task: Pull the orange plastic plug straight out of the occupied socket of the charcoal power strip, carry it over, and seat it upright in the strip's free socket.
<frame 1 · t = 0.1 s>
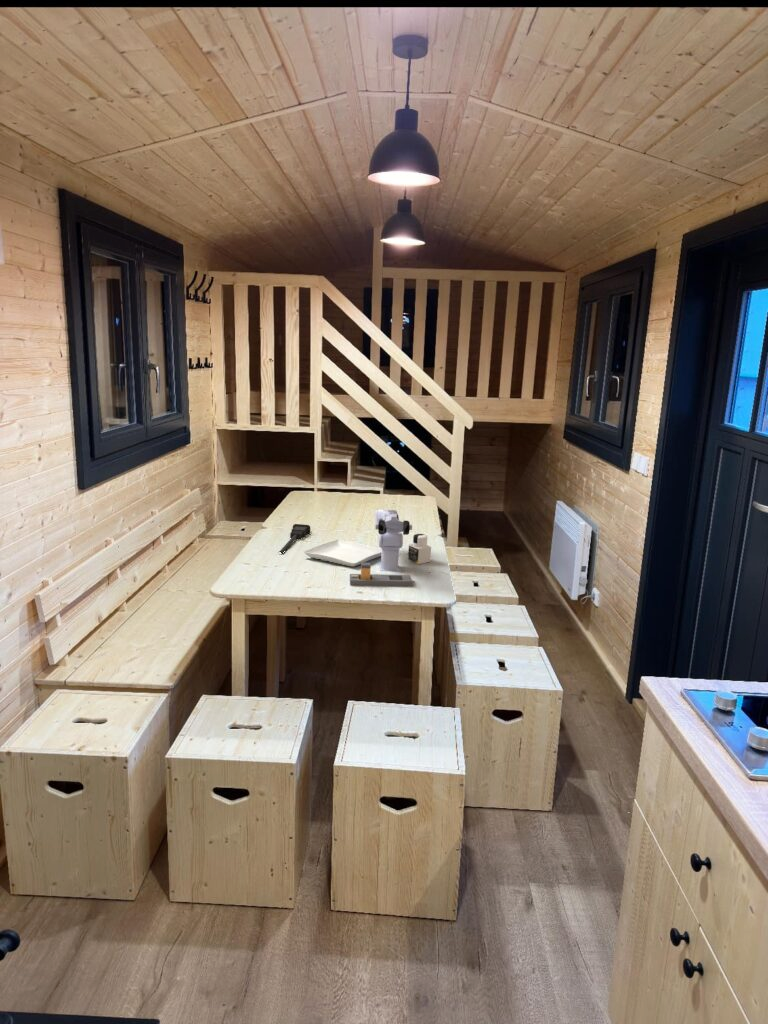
hand: (395, 530, 274), 22 cm above the table, tool horizontal, fingers open, 7 cm apart
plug: (365, 582, 278), resting on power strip
electrical plug: (293, 543, 332), on the table
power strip: (380, 583, 278), on the table
medicine bottle: (419, 561, 310), on the table
square plate: (345, 558, 311), on the table
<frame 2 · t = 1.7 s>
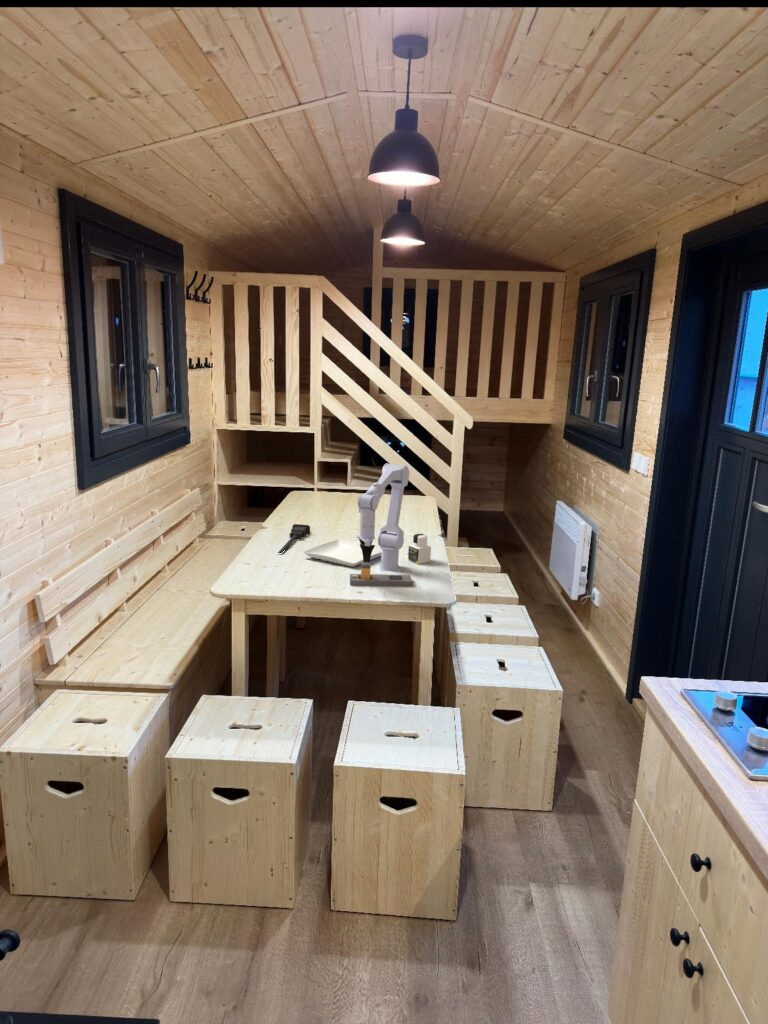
hand: (366, 559, 275), 10 cm above the table, tool pointing down, fingers open, 7 cm apart
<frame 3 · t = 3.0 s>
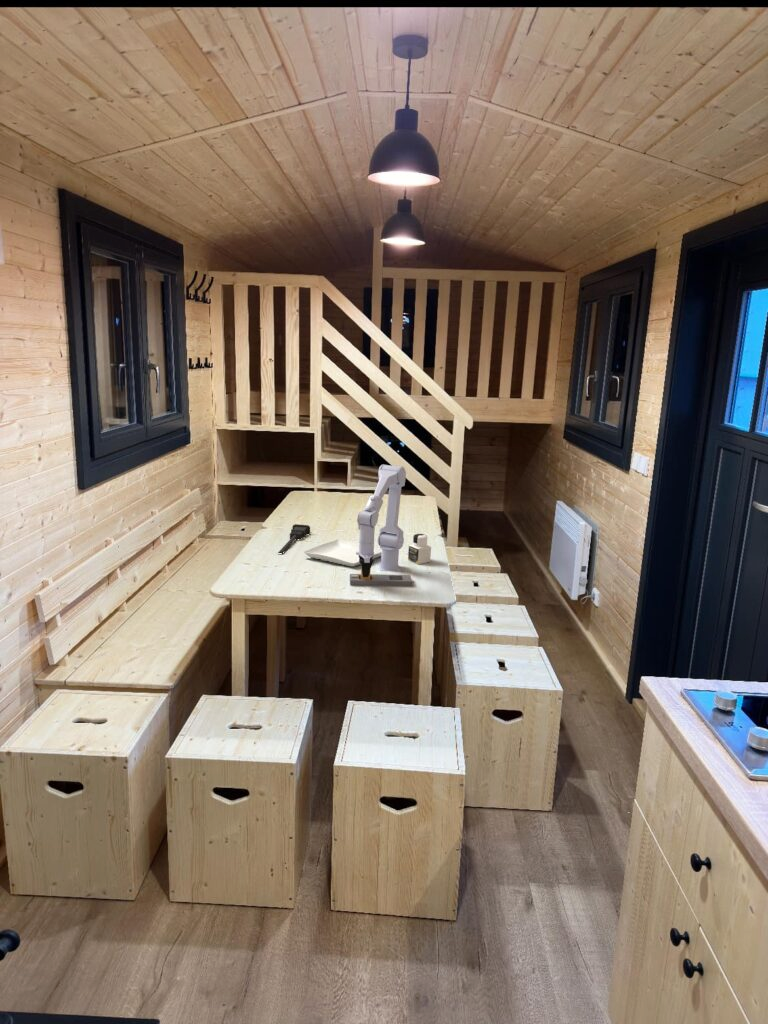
hand: (365, 575, 277), 3 cm above the table, tool pointing down, fingers closed on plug, 3 cm apart
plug: (365, 582, 278), resting on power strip, touching gripper
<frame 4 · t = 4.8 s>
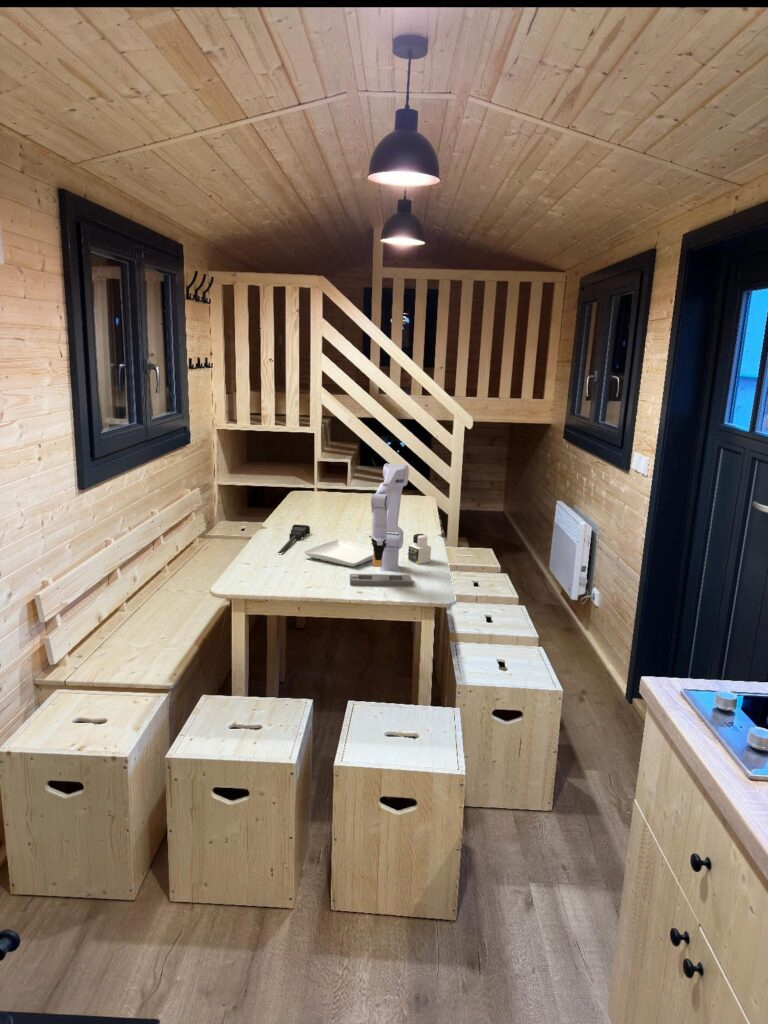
hand: (378, 558, 276), 10 cm above the table, tool pointing down, fingers closed on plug, 3 cm apart
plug: (377, 565, 276), point 7 cm above the table, touching gripper
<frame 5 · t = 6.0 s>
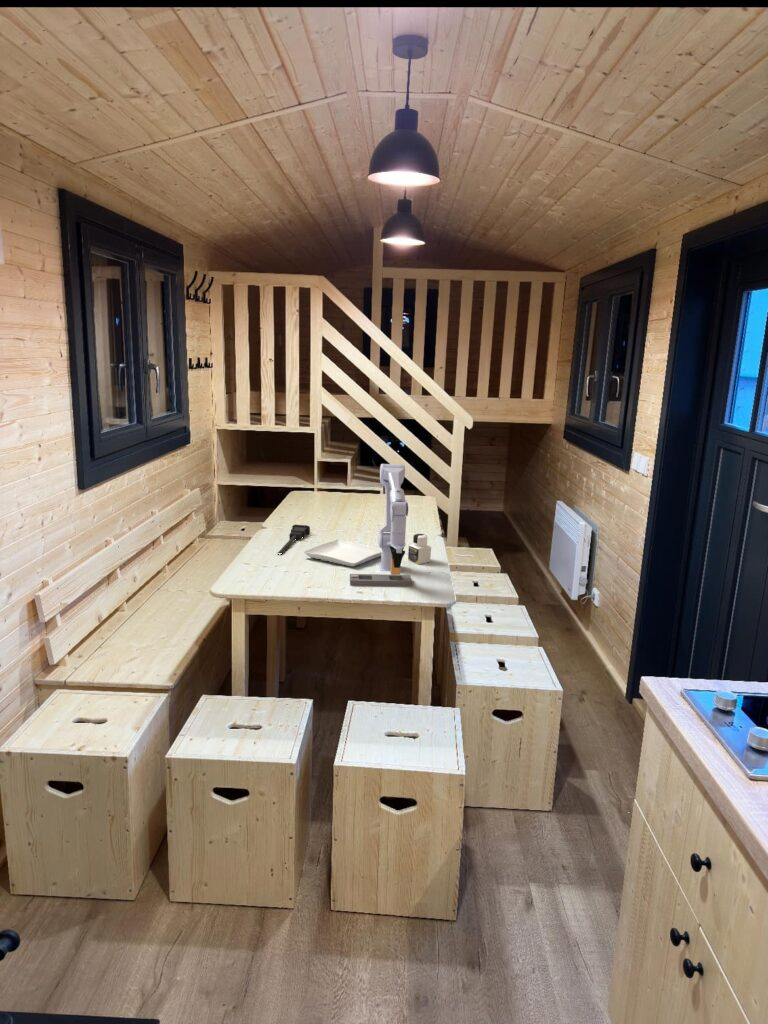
hand: (396, 565, 277), 7 cm above the table, tool pointing down, fingers closed on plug, 3 cm apart
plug: (395, 573, 278), point 4 cm above the table, touching gripper
when the fingers open (4 cm above the table, at t = 7.0 s): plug stays where it is, resting on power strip.
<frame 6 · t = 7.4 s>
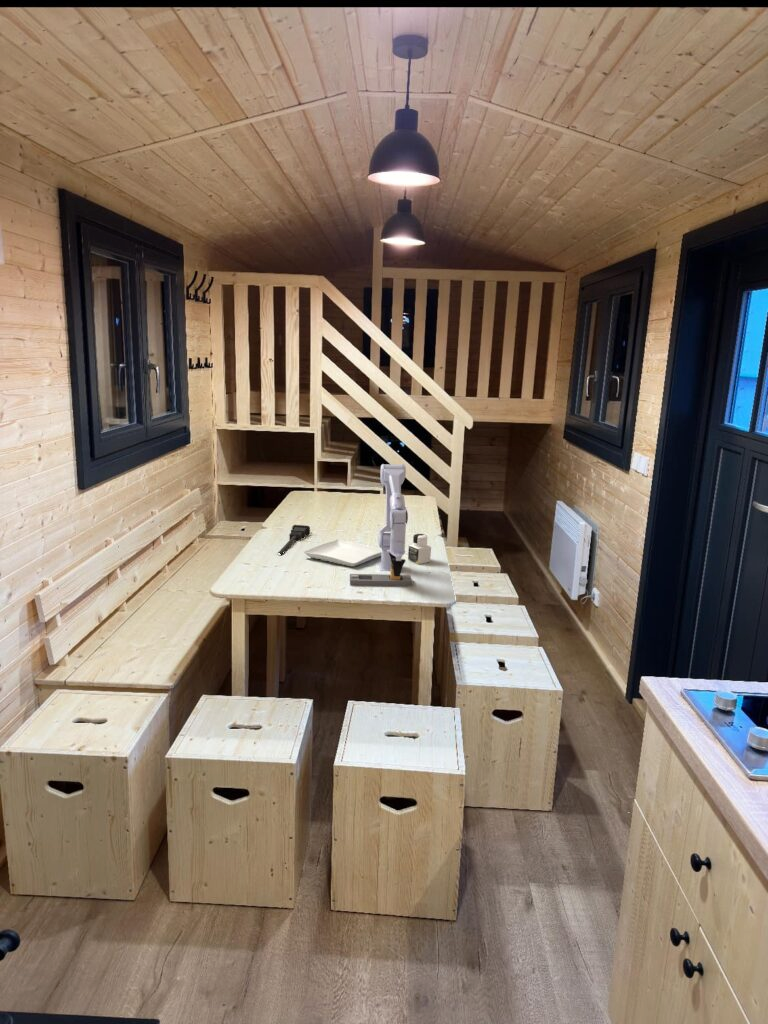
hand: (396, 573, 278), 4 cm above the table, tool pointing down, fingers open, 7 cm apart
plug: (394, 582, 279), resting on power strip
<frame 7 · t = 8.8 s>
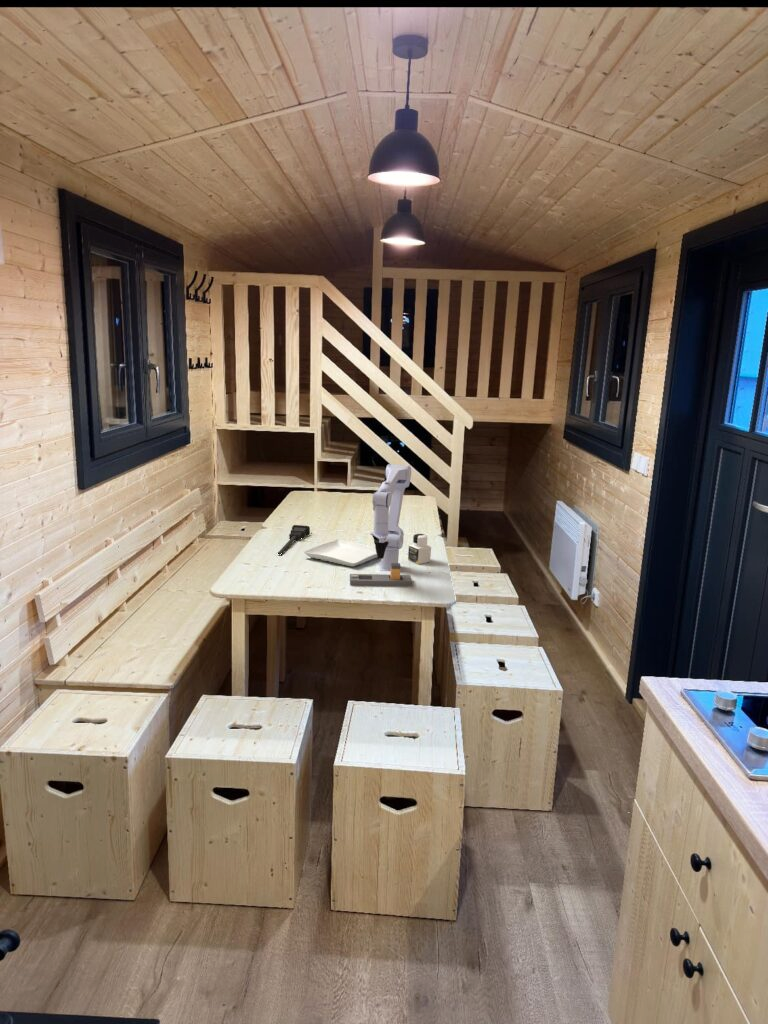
hand: (379, 555, 279), 10 cm above the table, tool pointing down, fingers open, 7 cm apart
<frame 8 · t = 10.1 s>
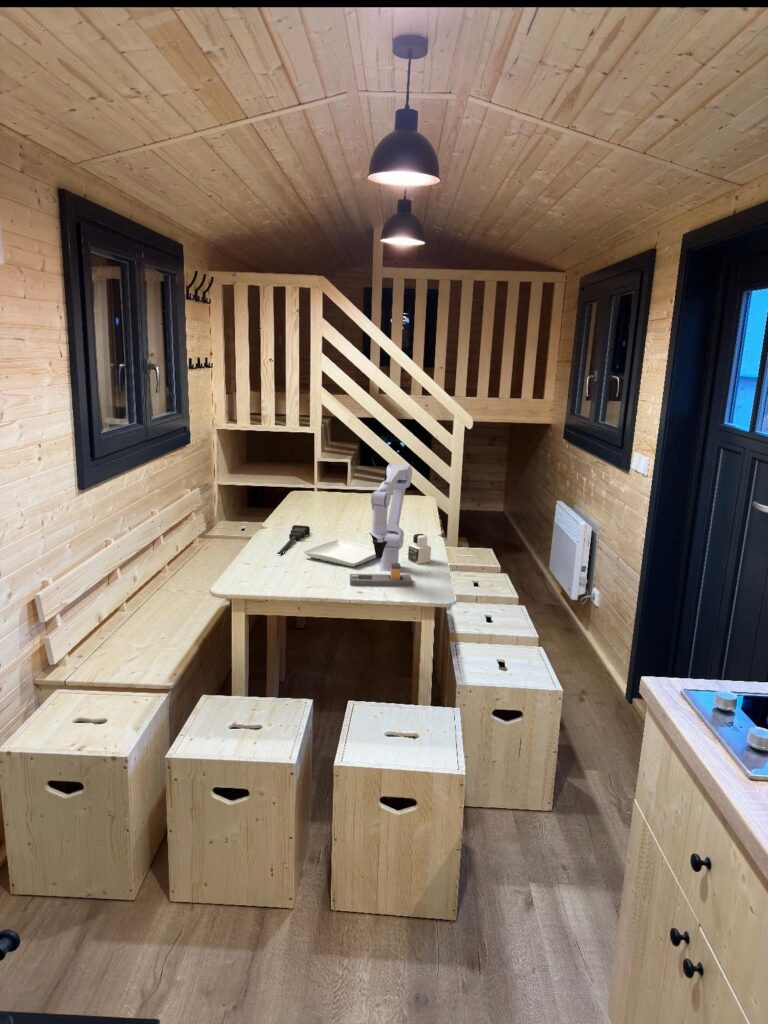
hand: (378, 555, 280), 10 cm above the table, tool pointing down, fingers open, 7 cm apart
at the end: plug 0.3 cm from the target spot on the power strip, point 0.5 cm above the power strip's base; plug tilted 0°; the gripper is holding nothing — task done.
